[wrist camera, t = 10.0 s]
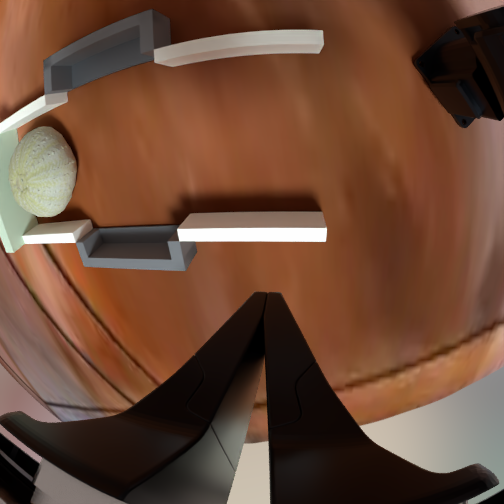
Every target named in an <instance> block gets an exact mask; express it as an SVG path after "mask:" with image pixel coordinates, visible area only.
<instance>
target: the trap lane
mask: <svg viewBox="0 0 504 504" xmlns="http://www.w3.org/2000/svg"><path fill="white" fill-rule="evenodd" d="M323 46H324V39H323V30H269V31H254V32H244V33H235V34H227V35H220V36H213V37H207V38H202V39H197V40H192V41H187V42H182V43H178V44H174V45H171V34H170V18H168V17H166V16H164V15H163V14H161V13H159V12H157V11H156V10H154V9H150V10H147V11H144V12H141V13H138V14H136V15H133V16H130V17H128V18H125V19H123V20H120V21H118V22H115V23H113V24H111V25H108V26H106V27H104V28H102V29H99V30H97V31H95V32H93V33H91V34H89V35H87V36H85V37H83V38H81V39H79V40H77V41H76V42H74V43H72V44H70V45H68V46H66V47H65V48H63V49H61V50H60V51H58V52H56V53H55V54H53V55H51V56H50V57H48V58H47V59H45V60H44V90H45V95H44V96H42V97H40V98H38V99H37V100H35V101H33V102H32V103H30V104H28V105H27V106H25V107H24V108H22V109H21V110H19V111H18V112H16V113H15V114H13V115H12V116H10V117H9V118H7V119H6V120H4V121H3V122H2V123H0V134H1V133H4V132H7V131H10V130H13V129H17V128H18V127H20V126H22V125H23V124H25V123H27V122H29V121H31V120H32V119H34V118H36V117H38V116H40V115H42V114H44V113H46V112H48V111H50V110H52V109H54V108H56V107H58V106H60V105H62V104H64V103H66V102H68V96H67V92H68V91H71V90H73V89H75V88H77V87H79V86H82V85H84V84H86V83H89V82H91V81H93V80H96V79H98V78H101V77H104V76H106V75H109V74H112V73H114V72H117V71H120V70H123V69H126V68H129V67H132V66H135V65H138V64H142V63H145V62H149V61H152V60H154V62H155V63H158V64H162V65H166V66H170V67H175V66H180V65H185V64H190V63H195V62H201V61H207V60H213V59H220V58H228V57H237V56H247V55H259V54H279V53H317V54H319V53H320V51H321V49H322V47H323ZM326 231H327V228H326V224H325V220H324V216H323V212H218V213H190V214H189V216H188V217H187V218H186V219H185V220H184V221H183V223H182V224H181V225H160V226H133V227H111V228H93V226H92V223H91V219H88V220H76V221H65V222H55V223H45V224H38V225H37V226H35V227H34V228H32V229H31V230H29V231H28V232H27V233H25V234H24V235H23V236H22V237H23V240H24V242H25V244H35V243H76V245H77V248H78V251H79V253H80V256H81V259H82V262H83V264H84V267H103V268H124V269H148V270H176V271H186V270H187V268H188V266H189V265H190V263H191V261H192V259H193V258H194V256H195V254H196V253H197V249H196V244H195V241H319V242H326Z"/></svg>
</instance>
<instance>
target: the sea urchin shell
mask: <svg viewBox="0 0 504 504" xmlns="http://www.w3.org/2000/svg"><path fill="white" fill-rule="evenodd" d="M8 168H9V169H8V170H9V179H8V180H9V182H10V186H11V191H12V193H13V196H14V199H15V201H16V202H17V203H18V205H19V206H21V207H22V208H23V209H25V211H27V212H30V213H32V214H34V215H36V216H38V217H39V216H40V217H52V216H55V215H57V214H59V213H61V212H62V211H63V210H64V209H65V207H66V205H67V204H68V202H69V201H70V198H71V197H72V191H73V188H74V186H75V183H76V182H75V181H76V172H77V166H76V160H75V157H74V155H73V153H72V150H71V147H70V146H69V145H68V144H67V142H66V141H65V139H64V138H63V136H62V134H60V133H59V132H57V131H56V130H55V129H53V128H52V127H45V126H42V127H38V128H36V129H34V130H32V131H31V132H28V133H27V134H26V135H25V136H24V137H23V139H22V140H21V141H20V143H19V144H18V145H17V146H16V148H15V149H14V153H13V155H12V157H11V159H10V163H9V167H8Z"/></svg>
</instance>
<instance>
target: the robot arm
mask: <svg viewBox="0 0 504 504" xmlns="http://www.w3.org/2000/svg"><path fill="white" fill-rule="evenodd" d="M454 23H455V24H456V26H457V27H456V26H454V27H451V28H450V29H449V30H447V31H446V32H445V33H444V34H443V35H442V36H441V37H440V38H439V39H437V40H436V41H435V42H434V43H433V44H432V45H431V46H430V47H429V48H427V49H426V50H425V51H424V52H423V53H422V54H421V55H420V56H419V57H418V58H417V59H416V60H415V61H414V65H415V67H416V69H417V70H418V71H419V72H420V73H421V75H422V76H423V77H424V78H425V79H426V81H427V82H428V83H429V85H430V89H431V90H432V91H433V93H434V94H435V95H436V97H437V98H438V99H439V101H440V102H441V103H442V105H443V106H444V108H445V109H446V110H447V112H448V113H450V114H452V116H453V117H454V119H455V120H456V122H457V123H458V125H459V126H460V127H462V128H467V127H468V126H469V125H470V124H471V123H472V122H473V120H474V119H475V118H477V119H480V118H481V117H484V118H489V119H494V120H498V121H501V120H502V119H503V118H504V5H501V6H498V7H494V8H491V9H488V10H485V11H482V12H479V13H476V14H473V15H470V16H468V17H465V18H462V19H460V20H457V21H455V22H454ZM455 31H456V32H457V34H456V33H455ZM419 62H421V63H422V64H423V67H421V66H420V65H419ZM462 120H464V124H462ZM264 359H265V370H266V392H267V415H268V439H269V470H270V504H468V500H469V499H471V498H473V497H476V496H477V495H480V494H481V493H483V492H486V491H487V490H489V489H491V488H493V487H495V486H497V485H498V484H499V481H498V479H497V477H496V476H495V474H494V473H492V472H491V471H490V470H489V469H487V468H486V467H484V466H482V465H481V464H473V465H470V466H467V467H465V468H462V469H459V470H457V471H454V472H450V473H435V472H430V471H428V470H425V469H423V468H421V467H419V466H417V465H415V464H413V463H410V462H409V461H407V460H405V459H403V458H401V457H399V456H397V455H395V454H394V453H392V452H390V451H388V450H386V449H384V448H383V447H381V446H379V445H377V444H376V443H374V442H373V441H372V440H371V439H370V438H369V437H368V436H367V435H366V434H365V433H364V432H363V430H362V429H361V428H360V427H359V425H358V424H357V423H356V421H355V420H354V418H353V417H352V416H351V414H350V413H349V412H348V410H347V409H346V408H345V406H344V405H343V404H342V402H341V401H340V399H339V398H338V397H337V395H336V394H335V392H334V391H333V389H332V388H331V386H330V385H329V383H328V381H327V380H326V378H325V376H324V374H323V373H322V371H321V369H320V367H319V365H318V363H317V362H316V359H315V357H314V355H313V354H312V352H311V350H310V348H309V346H308V344H307V342H306V340H305V338H304V336H303V334H302V332H301V330H300V328H299V326H298V325H297V323H296V321H295V319H294V317H293V315H292V313H291V311H290V309H289V307H288V305H287V303H286V301H285V300H284V298H283V296H282V294H281V293H280V292H269V293H268V294H267V292H254V293H253V294H252V295H251V296H250V297H249V298H248V299H247V300H246V301H245V302H244V304H243V305H242V306H241V307H240V308H239V309H238V310H237V311H236V312H235V313H234V314H233V315H232V316H231V317H230V318H229V319H228V320H227V321H226V322H225V323H224V325H223V326H222V327H221V328H220V329H219V330H218V331H217V332H216V333H215V334H214V335H213V336H212V337H211V338H210V339H209V340H208V341H207V342H206V343H205V344H204V345H203V346H202V347H201V348H200V349H199V350H198V351H197V352H196V353H195V355H193V356H192V357H191V358H190V359H189V360H188V361H187V362H186V363H185V364H184V365H183V366H182V367H181V368H180V369H179V370H178V371H177V372H176V373H174V374H173V375H172V376H171V377H170V378H168V379H167V380H166V381H165V382H164V383H162V384H161V385H160V386H158V387H157V388H156V389H155V390H153V391H152V392H151V393H149V394H148V395H147V396H145V397H144V398H143V399H141V400H140V401H139V402H137V403H136V404H135V405H133V406H132V407H130V408H129V409H127V410H126V411H124V412H122V413H119V414H117V415H114V416H109V417H103V418H96V419H88V420H79V421H70V422H58V423H47V422H40V421H37V420H35V419H33V418H31V417H30V416H28V415H26V414H25V413H23V412H21V411H17V412H10V413H6V414H4V415H2V416H0V424H1V425H2V426H3V427H4V428H5V429H6V430H7V431H9V432H10V433H11V434H12V435H13V436H15V437H16V438H17V439H18V440H19V441H21V442H22V443H24V444H25V445H26V446H27V447H28V448H30V449H31V450H33V451H34V452H35V453H37V454H38V455H39V456H41V457H42V460H41V462H40V463H39V462H37V461H36V460H35V459H33V458H32V457H30V456H29V455H28V454H27V453H25V452H24V451H23V450H21V449H20V448H19V447H17V446H16V445H15V444H14V443H12V442H11V441H10V440H9V439H8V438H6V437H5V436H4V435H3V434H1V433H0V504H227V500H228V497H229V493H230V490H231V487H232V483H233V480H234V476H235V472H236V469H237V466H238V462H239V458H240V455H241V451H242V447H243V444H244V440H245V436H246V432H247V429H248V425H249V421H250V417H251V413H252V409H253V405H254V401H255V397H256V393H257V389H258V385H259V381H260V376H261V372H262V368H263V364H264ZM476 504H504V489H502V490H501V491H499V492H497V493H495V494H494V495H492V496H490V497H488V498H486V499H484V500H483V501H481V502H479V503H476Z"/></svg>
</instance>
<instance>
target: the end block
mask: <svg viewBox="0 0 504 504" xmlns="http://www.w3.org/2000/svg"><path fill="white" fill-rule="evenodd" d="M18 144H19V141H18V134H17V129H13V130H10V131H7V132H4V133H1V134H0V236H1V239H2V242H3V245H4V247H5V250H6V252H11V253H14V252H15V251H16V250H18V249H19V248H20V247H21V246H23V245H24V244H25V242H24V240H23V237H22V236H23V235H24V234H25V233H27V232H28V231H29V230H31V229H32V228H34V227H35V226H37V225H38V222H37V219H36V215H34V214H32V213H30V212H27V211H25V209H23V208H22V207H21V206H19V205H18V203H17V202H16V201H15V199H14V196H13V193H12V191H11V186H10V182H9V180H8V179H9V170H8V169H9V168H8V167H9V163H10V159H11V157H12V155H13V153H14V149H15V148H16V146H17V145H18Z"/></svg>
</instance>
